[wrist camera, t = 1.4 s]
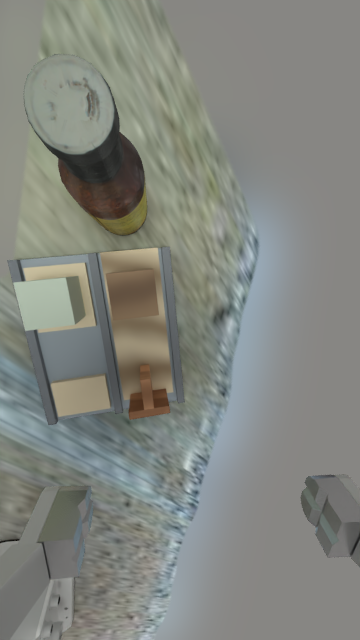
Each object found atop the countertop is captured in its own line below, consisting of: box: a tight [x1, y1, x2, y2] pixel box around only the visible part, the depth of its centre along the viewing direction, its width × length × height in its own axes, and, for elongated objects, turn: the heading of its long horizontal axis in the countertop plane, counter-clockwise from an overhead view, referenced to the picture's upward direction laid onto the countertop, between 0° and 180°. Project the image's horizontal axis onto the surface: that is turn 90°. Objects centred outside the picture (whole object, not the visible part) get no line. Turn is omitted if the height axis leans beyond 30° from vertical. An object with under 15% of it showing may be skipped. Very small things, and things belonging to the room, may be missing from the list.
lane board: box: [8, 247, 185, 425], centre depth 32 cm, size 22×19×2 cm
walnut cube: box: [106, 269, 159, 321], centre depth 28 cm, size 5×5×5 cm
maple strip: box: [100, 248, 173, 420], centre depth 30 cm, size 20×7×5 cm, turn 5°
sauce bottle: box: [24, 54, 147, 235], centre depth 20 cm, size 7×6×20 cm
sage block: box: [13, 276, 86, 331], centre depth 27 cm, size 5×5×5 cm
